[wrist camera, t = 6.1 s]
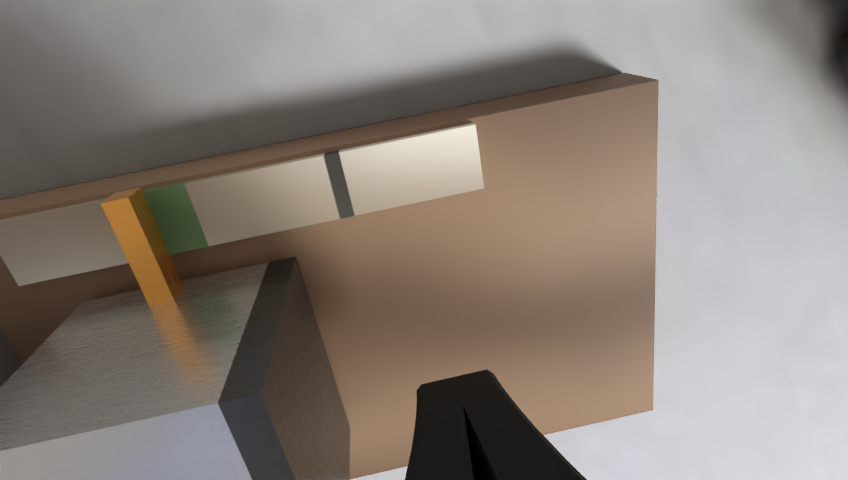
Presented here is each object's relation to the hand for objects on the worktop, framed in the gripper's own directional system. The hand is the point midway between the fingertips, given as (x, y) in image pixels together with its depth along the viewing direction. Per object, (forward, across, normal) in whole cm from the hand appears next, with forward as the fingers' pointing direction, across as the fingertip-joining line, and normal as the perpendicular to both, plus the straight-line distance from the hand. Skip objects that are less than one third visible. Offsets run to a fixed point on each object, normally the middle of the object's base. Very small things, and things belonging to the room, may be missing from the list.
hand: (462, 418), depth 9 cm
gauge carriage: (+3, +5, -1) cm, 6 cm away
